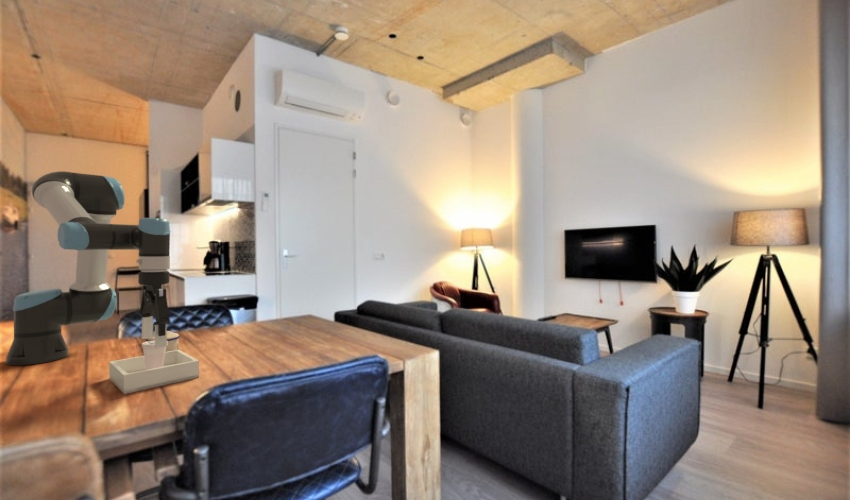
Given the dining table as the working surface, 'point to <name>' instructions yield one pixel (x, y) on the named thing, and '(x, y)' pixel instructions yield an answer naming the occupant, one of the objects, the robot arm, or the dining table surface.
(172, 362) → the bin
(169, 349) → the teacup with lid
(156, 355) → the smoothie
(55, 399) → the dining table surface
